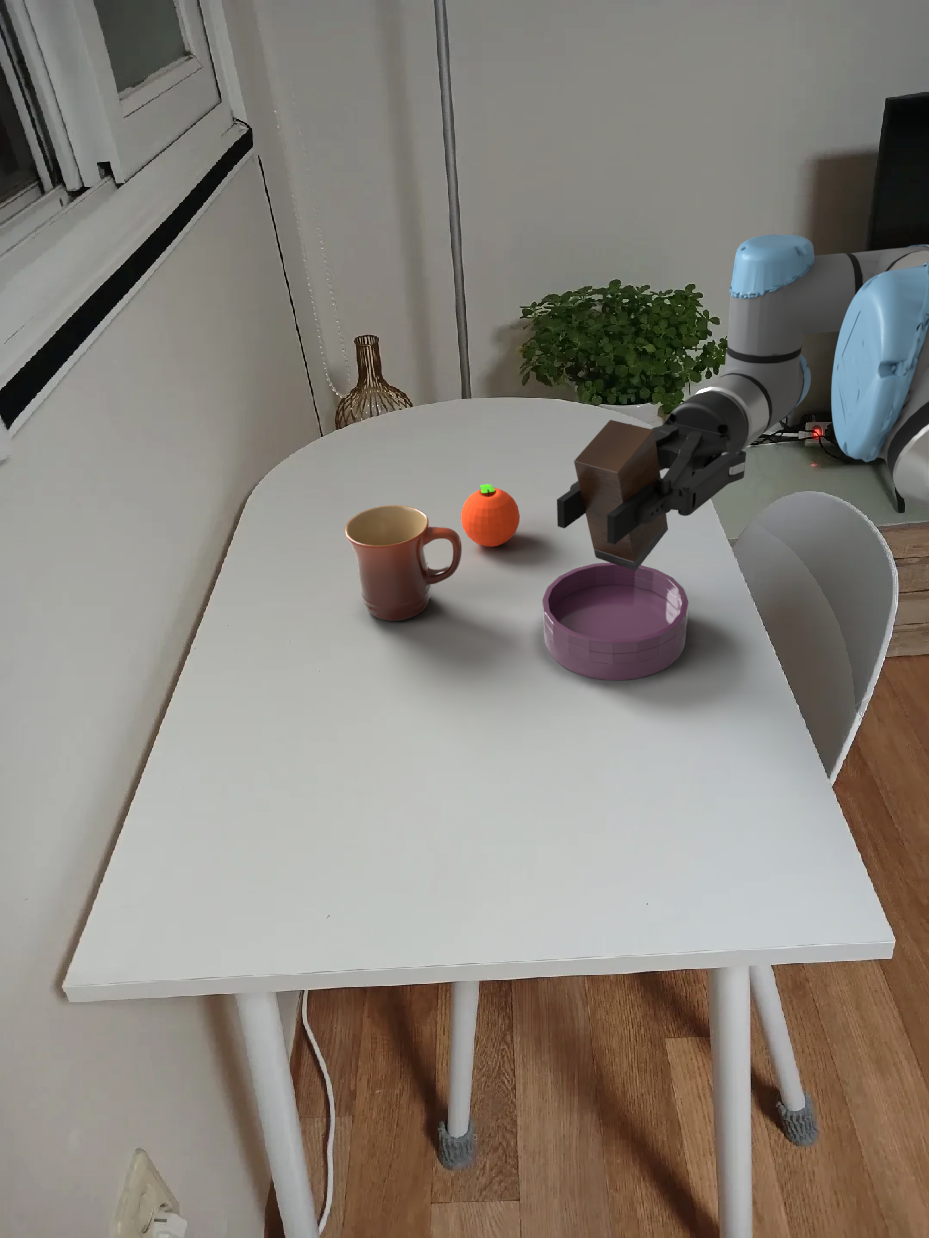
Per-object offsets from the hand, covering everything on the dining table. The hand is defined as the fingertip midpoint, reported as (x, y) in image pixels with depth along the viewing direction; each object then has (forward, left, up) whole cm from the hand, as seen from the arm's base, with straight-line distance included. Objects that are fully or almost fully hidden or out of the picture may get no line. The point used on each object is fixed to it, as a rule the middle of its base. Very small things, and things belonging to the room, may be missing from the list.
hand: (585, 521), depth 83 cm
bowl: (+3, -6, -17) cm, 18 cm away
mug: (+22, +6, -17) cm, 28 cm away
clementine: (+27, -9, -17) cm, 33 cm away
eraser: (+2, -7, -6) cm, 10 cm away
